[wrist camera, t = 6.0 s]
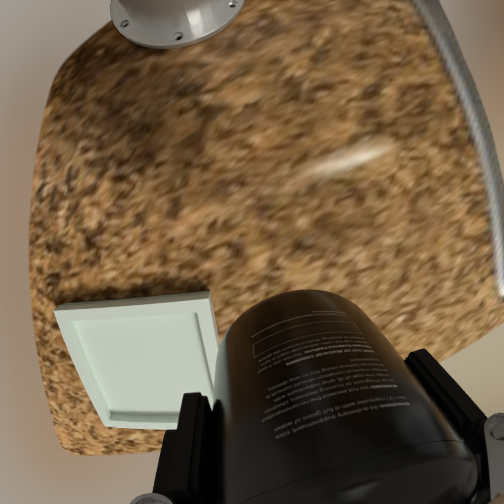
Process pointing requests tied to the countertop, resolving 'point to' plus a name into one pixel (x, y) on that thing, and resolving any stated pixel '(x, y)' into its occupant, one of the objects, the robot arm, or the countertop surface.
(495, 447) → the robot arm
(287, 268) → the countertop surface
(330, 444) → the supplement bottle
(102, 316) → the sage tray
